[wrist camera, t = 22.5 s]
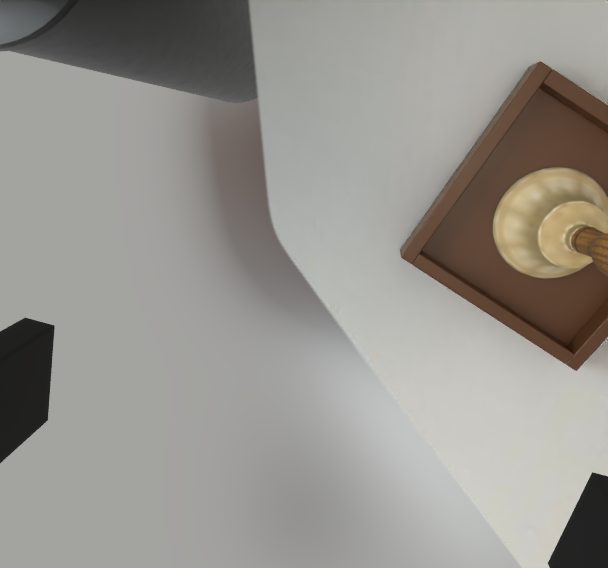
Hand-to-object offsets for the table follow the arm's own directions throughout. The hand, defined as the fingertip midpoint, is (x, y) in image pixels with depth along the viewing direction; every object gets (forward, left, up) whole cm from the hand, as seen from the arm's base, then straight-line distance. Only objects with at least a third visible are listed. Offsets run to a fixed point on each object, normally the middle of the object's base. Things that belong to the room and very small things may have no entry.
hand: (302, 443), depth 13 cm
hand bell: (+11, +8, -30) cm, 33 cm away
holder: (+12, +8, -31) cm, 34 cm away
